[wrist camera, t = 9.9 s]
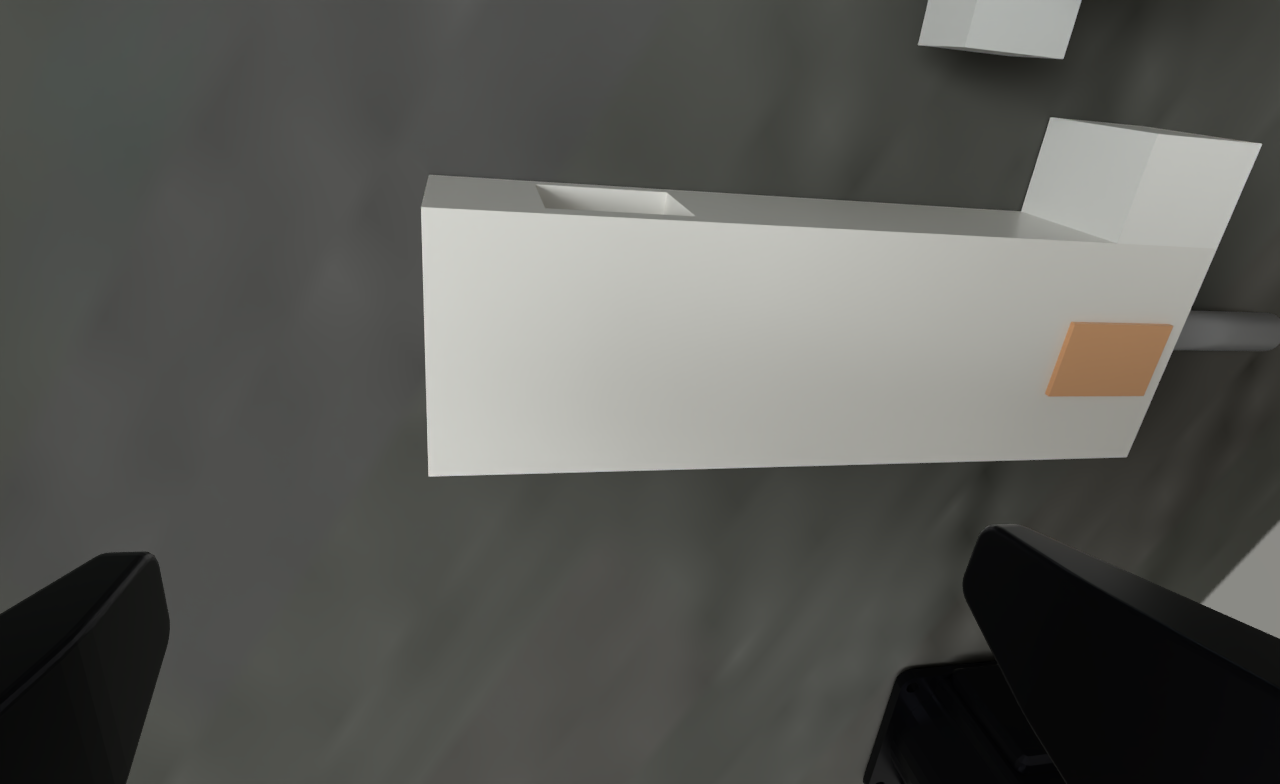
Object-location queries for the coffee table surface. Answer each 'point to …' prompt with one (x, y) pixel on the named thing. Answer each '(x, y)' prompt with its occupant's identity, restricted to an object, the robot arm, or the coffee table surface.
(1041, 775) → the robot arm
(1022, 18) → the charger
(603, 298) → the power strip
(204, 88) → the coffee table surface
